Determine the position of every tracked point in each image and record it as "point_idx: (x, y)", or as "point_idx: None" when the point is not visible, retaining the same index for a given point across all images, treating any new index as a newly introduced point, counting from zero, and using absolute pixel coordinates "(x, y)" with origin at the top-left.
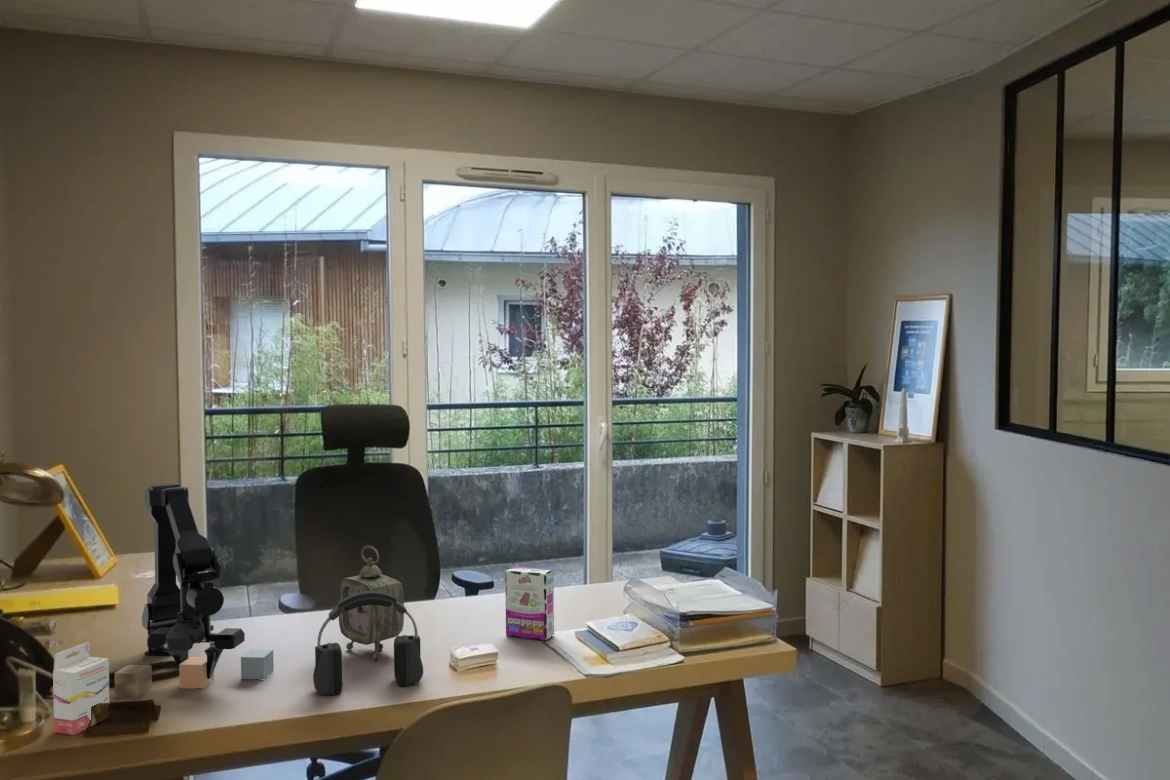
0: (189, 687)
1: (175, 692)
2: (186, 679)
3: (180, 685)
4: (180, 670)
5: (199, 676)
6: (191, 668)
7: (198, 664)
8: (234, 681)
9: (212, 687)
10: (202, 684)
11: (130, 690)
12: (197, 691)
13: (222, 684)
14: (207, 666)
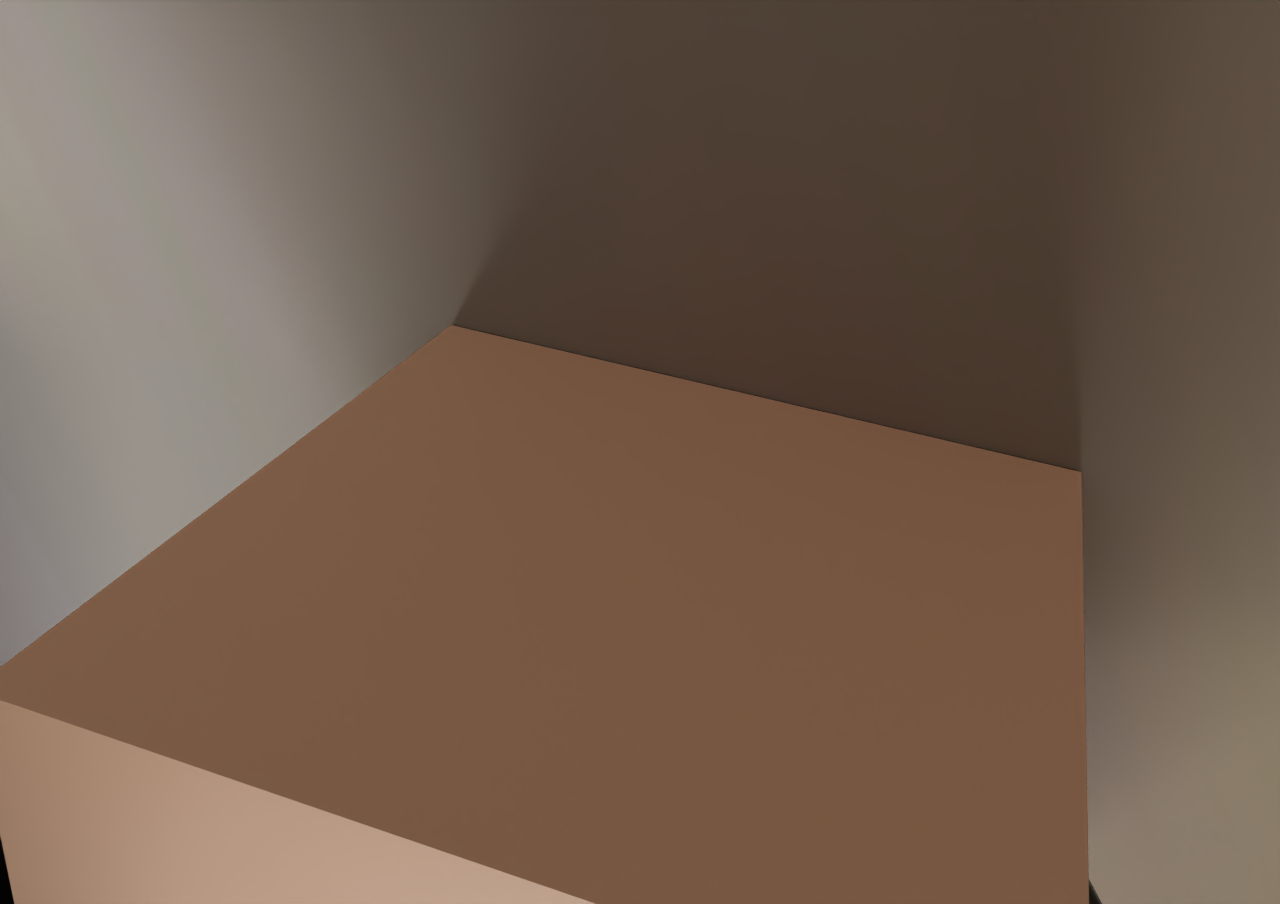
0: (793, 418)
1: (1130, 137)
2: (831, 541)
3: (1055, 503)
4: (1027, 810)
5: (369, 484)
6: (519, 736)
7: (145, 782)
8: (43, 611)
9: (278, 368)
10: (405, 361)
11: None
12: (505, 142)
13: (168, 505)
14: None
